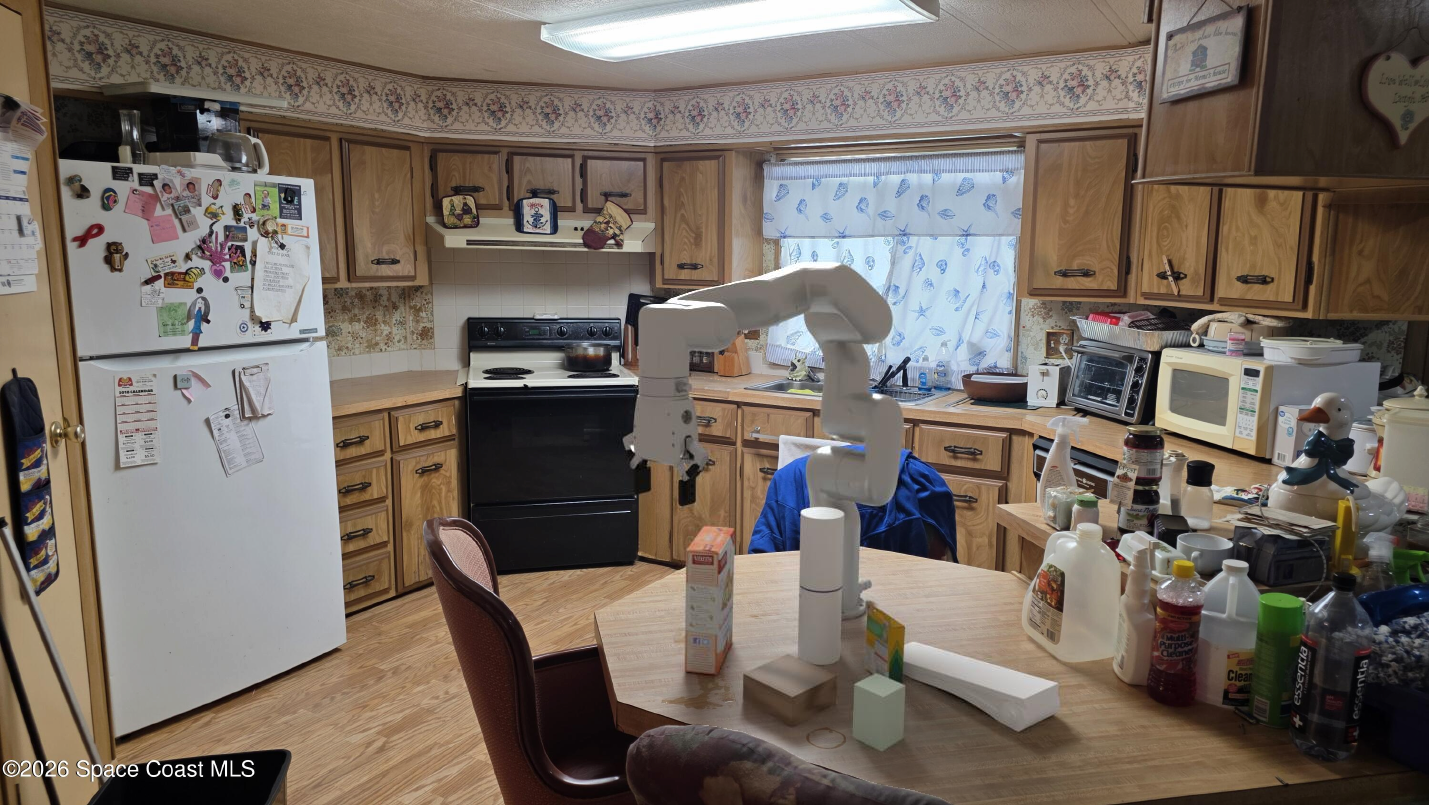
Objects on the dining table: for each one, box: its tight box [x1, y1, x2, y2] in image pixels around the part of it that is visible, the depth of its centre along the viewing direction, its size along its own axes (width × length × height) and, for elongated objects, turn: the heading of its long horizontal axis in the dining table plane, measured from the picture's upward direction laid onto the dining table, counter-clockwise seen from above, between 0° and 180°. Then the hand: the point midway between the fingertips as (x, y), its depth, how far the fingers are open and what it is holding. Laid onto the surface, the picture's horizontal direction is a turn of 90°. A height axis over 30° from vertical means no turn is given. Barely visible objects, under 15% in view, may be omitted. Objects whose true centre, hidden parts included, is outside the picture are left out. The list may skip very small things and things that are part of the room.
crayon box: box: [864, 601, 906, 684], centre depth 144 cm, size 7×3×12 cm, turn 21°
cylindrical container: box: [797, 507, 844, 666], centre depth 150 cm, size 7×7×25 cm
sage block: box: [852, 673, 906, 752], centre depth 125 cm, size 5×5×8 cm
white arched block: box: [903, 641, 1061, 732], centre depth 141 cm, size 10×7×28 cm
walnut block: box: [742, 653, 838, 729], centre depth 135 cm, size 10×10×5 cm
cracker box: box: [684, 525, 736, 676], centre depth 150 cm, size 14×6×21 cm, turn 168°
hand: (664, 498), depth 137 cm, fingers open, 9 cm apart
